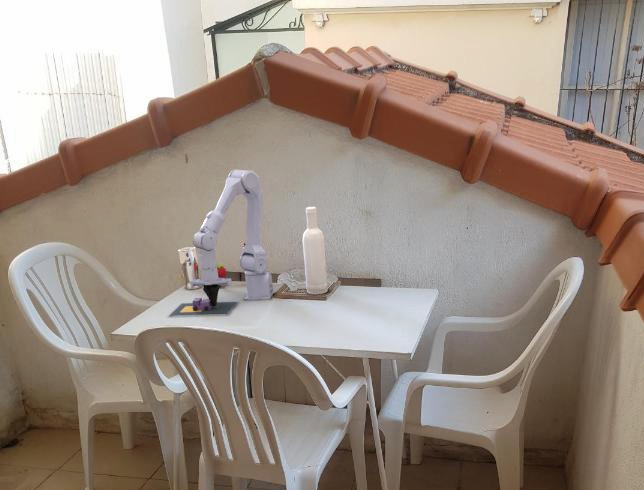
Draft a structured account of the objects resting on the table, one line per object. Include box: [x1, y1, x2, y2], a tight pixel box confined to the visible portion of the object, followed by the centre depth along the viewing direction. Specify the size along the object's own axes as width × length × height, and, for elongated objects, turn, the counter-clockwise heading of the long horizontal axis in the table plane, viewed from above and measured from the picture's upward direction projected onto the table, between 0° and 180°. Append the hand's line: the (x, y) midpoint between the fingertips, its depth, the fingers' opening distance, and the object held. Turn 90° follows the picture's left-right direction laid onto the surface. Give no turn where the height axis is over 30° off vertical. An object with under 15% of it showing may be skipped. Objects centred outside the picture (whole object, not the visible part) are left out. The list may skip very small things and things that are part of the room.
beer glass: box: [178, 246, 202, 290], centre depth 272 cm, size 7×7×15 cm
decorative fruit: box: [216, 261, 227, 287], centre depth 271 cm, size 6×8×10 cm
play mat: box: [169, 301, 238, 317], centre depth 247 cm, size 21×14×1 cm, turn 82°
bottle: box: [302, 206, 329, 295], centre depth 250 cm, size 8×8×30 cm
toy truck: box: [191, 297, 213, 311], centre depth 247 cm, size 6×5×3 cm
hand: (214, 305), depth 246 cm, fingers closed
